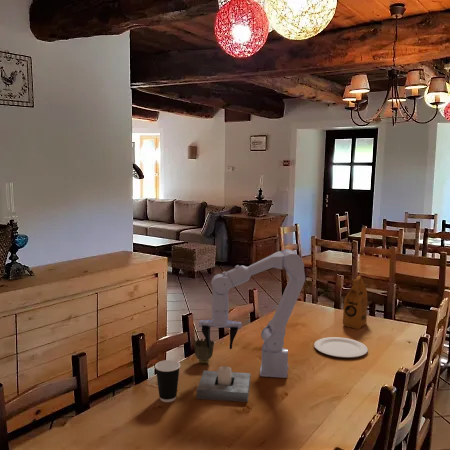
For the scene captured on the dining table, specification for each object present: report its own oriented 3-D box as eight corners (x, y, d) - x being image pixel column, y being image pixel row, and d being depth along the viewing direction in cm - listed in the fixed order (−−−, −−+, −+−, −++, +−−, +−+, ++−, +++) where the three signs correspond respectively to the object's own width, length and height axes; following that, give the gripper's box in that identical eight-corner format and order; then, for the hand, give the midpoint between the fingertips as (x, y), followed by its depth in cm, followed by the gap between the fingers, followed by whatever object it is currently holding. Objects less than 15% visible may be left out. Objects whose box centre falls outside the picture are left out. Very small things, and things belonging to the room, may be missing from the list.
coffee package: (338, 325, 219) (340, 278, 216) (349, 318, 229) (351, 273, 226) (360, 330, 213) (362, 282, 210) (369, 323, 223) (372, 276, 220)
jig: (250, 381, 163) (250, 373, 162) (247, 402, 149) (247, 392, 149) (203, 378, 165) (203, 370, 164) (196, 398, 151) (196, 389, 150)
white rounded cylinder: (232, 386, 159) (232, 366, 158) (230, 393, 155) (230, 372, 154) (218, 386, 159) (218, 365, 159) (217, 392, 155) (217, 371, 154)
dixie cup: (185, 397, 152) (185, 364, 150) (168, 407, 145) (168, 372, 144) (167, 390, 156) (166, 357, 155) (149, 399, 150) (149, 366, 148)
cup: (211, 367, 173) (211, 346, 172) (191, 365, 175) (191, 344, 174) (215, 359, 180) (215, 339, 179) (196, 357, 182) (196, 337, 181)
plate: (309, 355, 186) (309, 351, 186) (319, 337, 205) (319, 333, 205) (364, 364, 178) (364, 360, 178) (370, 345, 197) (370, 341, 197)
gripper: (197, 312, 162) (197, 350, 163) (240, 314, 160) (239, 353, 162) (200, 305, 169) (200, 343, 170) (241, 307, 167) (241, 345, 169)
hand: (219, 347), depth 167 cm, fingers open, 7 cm apart
